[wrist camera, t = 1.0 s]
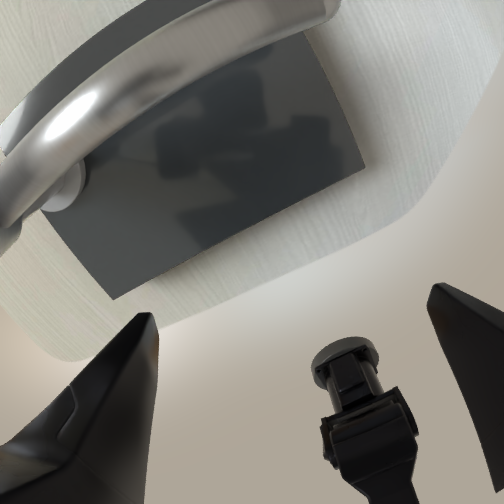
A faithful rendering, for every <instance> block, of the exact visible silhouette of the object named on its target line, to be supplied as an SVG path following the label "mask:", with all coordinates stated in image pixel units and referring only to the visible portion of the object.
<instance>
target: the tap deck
mask: <svg viewBox="0 0 504 504" xmlns="http://www.w3.org/2000/svg"><path fill="white" fill-rule="evenodd" d="M210 1H212V0H146V1H144V2H143V3H141V4H140V5H138V6H136V7H135V8H133V9H132V10H130V11H128V12H127V13H125V14H124V15H122V16H121V17H119V18H118V19H116V20H115V21H114V22H112V23H111V24H109V25H108V26H106V27H105V28H104V29H102V30H101V31H100V32H98V33H97V34H96V35H94V36H93V37H92V38H90V39H89V40H88V41H86V42H85V43H84V44H83V45H81V46H80V47H79V48H78V49H76V50H75V51H74V52H73V53H72V54H70V55H69V56H68V57H67V58H66V59H65V60H63V61H62V62H61V63H60V64H59V65H58V66H57V67H56V68H54V69H53V70H52V71H51V72H50V73H49V74H48V75H47V76H46V77H45V78H44V79H43V80H42V81H41V82H40V83H39V84H38V85H37V86H36V87H34V89H33V90H32V91H31V92H30V93H29V94H28V95H27V96H26V97H25V98H24V99H23V100H22V101H21V102H20V103H19V104H18V105H17V106H16V107H15V109H14V110H13V111H12V112H11V113H10V114H9V115H8V116H7V118H6V119H5V120H4V121H3V122H2V124H1V125H0V148H1V149H2V151H3V153H4V154H5V156H6V157H7V156H8V155H9V153H10V152H11V151H12V150H13V149H14V148H15V147H16V145H17V144H18V143H19V142H20V141H21V140H22V139H23V138H24V137H25V136H26V135H27V134H28V133H29V132H30V131H31V130H32V128H33V127H34V126H35V125H36V124H37V123H38V122H39V121H40V120H41V119H42V118H44V117H45V116H46V115H47V114H48V113H49V112H50V111H51V110H52V109H53V108H54V107H55V106H56V105H57V104H58V103H59V102H61V101H62V100H63V99H64V98H65V97H66V96H67V95H68V94H70V93H71V92H72V91H73V90H74V89H75V88H77V87H78V86H79V85H80V84H81V83H83V82H84V81H85V80H86V79H88V78H89V77H90V76H91V75H93V74H94V73H95V72H96V71H98V70H99V69H100V68H102V67H103V66H104V65H106V64H107V63H108V62H110V61H111V60H113V59H114V58H115V57H117V56H118V55H120V54H121V53H122V52H124V51H125V50H127V49H128V48H130V47H131V46H133V45H134V44H136V43H137V42H139V41H140V40H142V39H143V38H145V37H147V36H148V35H150V34H151V33H153V32H155V31H156V30H158V29H160V28H161V27H163V26H165V25H166V24H168V23H170V22H172V21H173V20H175V19H177V18H179V17H181V16H183V15H184V14H186V13H188V12H190V11H192V10H194V9H196V8H198V7H200V6H202V5H204V4H206V3H208V2H210ZM364 168H365V165H364V162H363V159H362V157H361V154H360V152H359V149H358V147H357V144H356V142H355V139H354V137H353V134H352V132H351V130H350V127H349V125H348V122H347V120H346V118H345V116H344V113H343V111H342V109H341V107H340V104H339V102H338V100H337V98H336V96H335V93H334V91H333V89H332V87H331V85H330V83H329V81H328V79H327V77H326V75H325V73H324V71H323V69H322V67H321V65H320V63H319V61H318V59H317V57H316V55H315V53H314V51H313V49H312V48H311V46H310V44H309V42H308V40H307V38H306V37H305V35H304V33H303V31H301V32H298V33H295V34H293V35H290V36H288V37H285V38H283V39H280V40H278V41H276V42H273V43H271V44H269V45H266V46H264V47H262V48H260V49H258V50H255V51H253V52H251V53H249V54H247V55H245V56H243V57H241V58H239V59H237V60H234V61H232V62H230V63H229V64H227V65H225V66H223V67H221V68H219V69H217V70H215V71H213V72H211V73H209V74H208V75H206V76H204V77H202V78H200V79H199V80H197V81H195V82H193V83H192V84H190V85H188V86H186V87H185V88H183V89H181V90H180V91H178V92H176V93H175V94H173V95H171V96H170V97H168V98H167V99H165V100H163V101H162V102H160V103H159V104H157V105H156V106H154V107H153V108H151V109H149V110H148V111H146V112H145V113H143V114H142V115H140V116H139V117H138V118H136V119H135V120H133V121H132V122H130V123H129V124H128V125H126V126H125V127H123V128H122V129H121V130H119V131H118V132H116V133H115V134H114V135H112V136H111V137H110V138H108V139H107V140H106V141H104V142H103V143H102V144H100V145H99V146H98V147H97V148H95V149H94V150H93V151H92V152H90V153H89V154H88V155H87V156H85V157H84V158H83V159H82V160H80V161H79V162H78V163H77V164H76V165H74V166H73V167H72V168H71V169H70V170H69V171H67V172H66V173H65V174H64V175H63V176H62V177H61V178H59V179H58V180H57V181H56V182H55V183H54V184H53V185H52V186H51V187H49V188H48V189H47V190H46V191H45V192H44V193H43V194H42V195H41V196H40V197H39V198H38V199H37V200H36V201H35V202H34V203H33V204H32V205H31V206H29V207H28V208H27V209H26V210H25V211H24V213H23V214H22V223H24V222H25V221H26V220H27V219H28V218H29V217H30V216H32V215H33V214H34V213H35V212H36V211H37V210H39V209H40V210H41V211H42V213H43V214H44V215H45V217H46V218H47V220H48V221H49V222H50V224H51V225H52V226H53V228H54V229H55V230H56V232H57V233H58V234H59V236H60V237H61V238H62V240H63V241H64V242H65V244H66V245H67V246H68V247H69V249H70V250H71V251H72V252H73V254H74V255H75V256H76V257H77V259H78V260H79V261H80V262H81V264H82V265H83V266H84V267H85V268H86V270H87V271H88V272H89V273H90V274H91V276H92V277H93V278H94V279H95V280H96V281H97V283H98V284H99V285H100V286H101V287H102V288H103V289H104V291H105V292H106V293H107V294H108V295H109V296H110V297H111V298H112V300H115V299H116V298H118V297H120V296H122V295H124V294H125V293H127V292H129V291H131V290H133V289H134V288H136V287H138V286H140V285H142V284H143V283H145V282H147V281H149V280H151V279H153V278H154V277H156V276H158V275H160V274H162V273H164V272H165V271H167V270H169V269H171V268H173V267H175V266H177V265H178V264H180V263H182V262H184V261H186V260H188V259H190V258H191V257H193V256H195V255H197V254H199V253H201V252H203V251H204V250H206V249H208V248H210V247H212V246H214V245H216V244H218V243H220V242H221V241H223V240H225V239H227V238H229V237H231V236H233V235H235V234H237V233H238V232H240V231H242V230H244V229H246V228H248V227H250V226H252V225H254V224H256V223H258V222H260V221H261V220H263V219H265V218H267V217H269V216H271V215H273V214H275V213H277V212H279V211H281V210H283V209H285V208H287V207H289V206H291V205H293V204H295V203H296V202H298V201H300V200H302V199H304V198H306V197H308V196H310V195H312V194H314V193H316V192H318V191H320V190H322V189H324V188H326V187H328V186H330V185H332V184H334V183H336V182H338V181H340V180H342V179H344V178H346V177H348V176H350V175H352V174H354V173H356V172H358V171H360V170H362V169H364Z"/></svg>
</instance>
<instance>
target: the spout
mask: <svg viewBox="0 0 504 504" xmlns="http://www.w3.org/2000/svg"><path fill="white" fill-rule="evenodd" d="M340 5H341V0H212V1H210V2H208V3H206V4H204V5H202V6H200V7H198V8H196V9H194V10H192V11H190V12H188V13H186V14H184V15H183V16H181V17H179V18H177V19H175V20H173V21H172V22H170V23H168V24H166V25H165V26H163V27H161V28H160V29H158V30H156V31H155V32H153V33H151V34H150V35H148V36H147V37H145V38H143V39H142V40H140V41H139V42H137V43H136V44H134V45H133V46H131V47H130V48H128V49H127V50H125V51H124V52H122V53H121V54H120V55H118V56H117V57H115V58H114V59H113V60H111V61H110V62H108V63H107V64H106V65H104V66H103V67H102V68H100V69H99V70H98V71H96V72H95V73H94V74H93V75H91V76H90V77H89V78H88V79H86V80H85V81H84V82H83V83H81V84H80V85H79V86H78V87H77V88H75V89H74V90H73V91H72V92H71V93H70V94H68V95H67V96H66V97H65V98H64V99H63V100H62V101H61V102H59V103H58V104H57V105H56V106H55V107H54V108H53V109H52V110H51V111H50V112H49V113H48V114H47V115H46V116H45V117H44V118H42V119H41V120H40V121H39V122H38V123H37V124H36V125H35V126H34V127H33V128H32V130H31V131H30V132H29V133H28V134H27V135H26V136H25V137H24V138H23V139H22V140H21V141H20V142H19V143H18V144H17V145H16V147H15V148H14V149H13V150H12V151H11V152H10V153H9V155H8V156H7V157H6V158H5V159H4V160H3V162H2V163H1V164H0V257H1V256H2V255H3V254H4V253H5V252H6V251H7V250H8V249H9V248H10V247H11V246H12V245H13V244H14V243H15V242H16V240H17V239H18V237H19V235H20V233H21V229H22V214H23V213H24V211H25V210H26V209H27V208H28V207H29V206H31V205H32V204H33V203H34V202H35V201H36V200H37V199H38V198H39V197H40V196H41V195H42V194H43V193H44V192H45V191H46V190H47V189H48V188H49V187H51V186H52V185H53V184H54V183H55V182H56V181H57V180H58V179H59V178H61V177H62V176H63V175H64V174H65V173H66V172H67V171H69V170H70V169H71V168H72V167H73V166H74V165H76V164H77V163H78V162H79V161H80V160H82V159H83V158H84V157H85V156H87V155H88V154H89V153H90V152H92V151H93V150H94V149H95V148H97V147H98V146H99V145H100V144H102V143H103V142H104V141H106V140H107V139H108V138H110V137H111V136H112V135H114V134H115V133H116V132H118V131H119V130H121V129H122V128H123V127H125V126H126V125H128V124H129V123H130V122H132V121H133V120H135V119H136V118H138V117H139V116H140V115H142V114H143V113H145V112H146V111H148V110H149V109H151V108H153V107H154V106H156V105H157V104H159V103H160V102H162V101H163V100H165V99H167V98H168V97H170V96H171V95H173V94H175V93H176V92H178V91H180V90H181V89H183V88H185V87H186V86H188V85H190V84H192V83H193V82H195V81H197V80H199V79H200V78H202V77H204V76H206V75H208V74H209V73H211V72H213V71H215V70H217V69H219V68H221V67H223V66H225V65H227V64H229V63H230V62H232V61H234V60H237V59H239V58H241V57H243V56H245V55H247V54H249V53H251V52H253V51H255V50H258V49H260V48H262V47H264V46H266V45H269V44H271V43H273V42H276V41H278V40H280V39H283V38H285V37H288V36H290V35H293V34H295V33H298V32H301V31H305V30H307V29H309V28H311V27H314V26H316V25H319V24H322V23H324V22H327V21H329V20H330V19H331V18H333V17H334V16H335V14H336V13H337V12H338V10H339V8H340Z"/></svg>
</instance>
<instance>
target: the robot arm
mask: <svg viewBox="0 0 504 504" xmlns="http://www.w3.org/2000/svg"><path fill="white" fill-rule="evenodd" d="M427 311H428V313H429V316H430V318H431V321H432V324H433V326H434V329H435V332H436V334H437V337H438V340H439V342H440V345H441V347H442V349H443V352H444V354H445V356H446V358H447V360H448V363H449V365H450V367H451V369H452V371H453V374H454V376H455V378H456V381H457V383H458V385H459V388H460V390H461V392H462V395H463V397H464V400H465V402H466V405H467V407H468V410H469V413H470V415H471V418H472V420H473V423H474V426H475V429H476V431H477V434H478V437H479V440H480V443H481V446H482V449H483V452H484V456H485V459H486V462H487V465H488V469H489V472H490V475H491V479H492V482H493V486H494V490H495V492H496V493H497V492H499V491H500V490H502V489H503V488H504V312H502V311H500V310H498V309H496V308H494V307H493V306H491V305H489V304H487V303H485V302H483V301H481V300H479V299H477V298H475V297H473V296H471V295H469V294H467V293H464V292H463V291H460V290H459V289H456V288H454V287H452V286H450V285H448V284H446V283H437V284H434V285H433V286H432V289H431V292H430V295H429V298H428V301H427ZM158 352H159V334H158V330H157V327H156V323H155V320H154V316H153V314H152V313H150V312H143V313H138V314H137V315H136V316H135V317H134V318H133V319H132V320H131V321H130V322H129V323H128V324H127V325H126V326H125V327H124V328H123V329H122V330H121V331H120V332H119V333H118V334H117V335H116V336H115V337H114V338H113V339H112V340H111V341H110V342H109V343H108V344H107V345H106V346H105V347H104V348H103V349H102V350H101V351H100V352H99V353H98V354H97V355H96V356H95V357H94V359H93V360H92V361H91V362H90V363H89V364H88V365H87V366H86V367H85V368H84V369H83V370H82V371H81V372H80V373H79V374H78V375H77V376H76V377H75V378H74V380H73V381H72V382H71V383H70V384H69V385H70V386H67V387H66V388H65V389H64V390H63V391H62V392H61V393H60V394H59V395H58V396H57V397H56V398H55V399H54V400H53V402H51V404H50V405H49V406H47V407H46V408H45V409H44V410H43V411H42V412H41V413H40V414H39V415H38V416H37V417H36V418H34V419H33V420H32V421H31V422H30V423H29V424H28V425H27V426H25V427H24V428H23V429H22V430H21V431H20V432H19V433H18V434H17V435H16V436H14V437H13V438H12V439H11V440H10V441H8V442H7V443H5V444H4V445H1V446H0V504H144V495H145V483H146V472H147V462H148V452H149V444H150V435H151V426H152V419H153V411H154V404H155V397H156V391H157V381H158V380H157V379H158ZM314 371H315V373H316V375H317V376H318V378H319V379H320V381H321V382H322V384H323V385H324V387H325V388H326V390H327V391H328V392H329V395H330V398H331V401H332V405H333V408H334V411H335V414H334V415H331V416H329V417H324V418H321V421H322V425H321V426H320V430H321V434H322V438H323V456H324V459H325V460H328V461H330V463H331V464H332V465H333V467H334V469H335V470H337V469H340V473H341V476H342V478H343V479H344V480H345V481H346V482H348V483H349V484H350V485H351V486H353V487H354V488H355V489H356V490H358V491H359V492H360V493H362V494H363V495H364V496H366V497H367V498H368V501H369V504H419V501H418V498H417V496H416V493H415V490H414V487H413V484H412V476H413V472H414V468H415V463H416V459H417V451H418V445H417V443H416V440H415V437H416V436H418V435H419V432H418V428H417V425H416V422H415V419H414V417H413V414H412V412H411V410H410V408H409V407H408V405H407V403H406V401H405V399H404V397H403V396H402V394H401V392H400V390H399V389H398V387H397V386H396V387H394V388H392V389H391V390H389V391H387V392H385V393H384V391H383V389H382V386H381V384H380V382H379V380H378V378H377V375H376V374H377V373H378V371H377V368H376V366H375V363H374V360H373V358H372V355H371V352H370V350H369V347H368V345H367V344H364V345H361V346H359V347H357V348H355V349H353V350H351V351H349V352H347V353H345V354H343V355H341V356H339V357H336V358H334V359H332V360H330V361H328V362H325V363H323V364H321V365H319V366H317V367H315V368H314Z"/></svg>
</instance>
